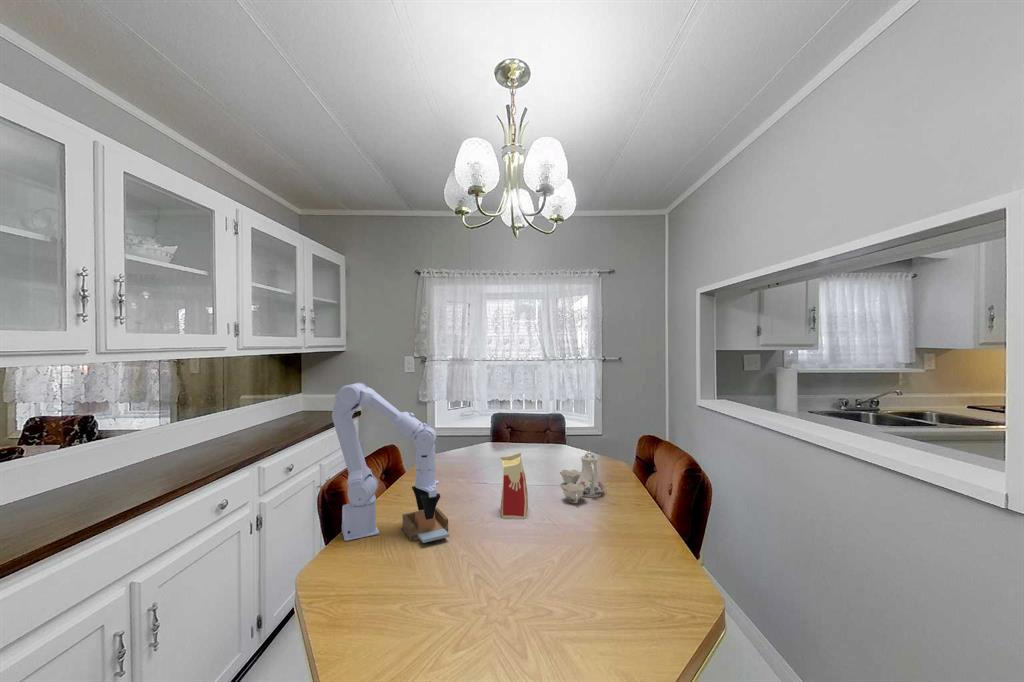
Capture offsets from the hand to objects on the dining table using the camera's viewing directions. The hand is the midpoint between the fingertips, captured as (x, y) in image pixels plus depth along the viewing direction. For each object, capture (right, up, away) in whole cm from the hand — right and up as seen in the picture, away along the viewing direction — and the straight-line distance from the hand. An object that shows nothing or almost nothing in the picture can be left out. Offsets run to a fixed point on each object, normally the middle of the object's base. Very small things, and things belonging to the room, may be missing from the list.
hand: (425, 514), depth 121 cm
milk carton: (+26, -6, +13) cm, 30 cm away
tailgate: (+2, -3, -5) cm, 6 cm away
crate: (0, -5, 0) cm, 5 cm away
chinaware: (+52, -6, +32) cm, 61 cm away
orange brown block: (0, -3, 0) cm, 3 cm away
